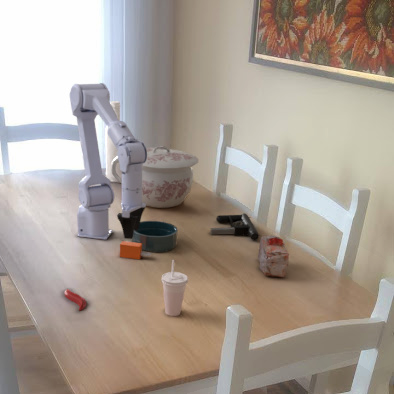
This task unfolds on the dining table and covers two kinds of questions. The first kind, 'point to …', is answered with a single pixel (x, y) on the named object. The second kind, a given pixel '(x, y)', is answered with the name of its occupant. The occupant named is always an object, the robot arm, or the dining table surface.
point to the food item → (273, 256)
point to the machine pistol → (236, 226)
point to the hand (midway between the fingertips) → (131, 233)
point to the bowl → (156, 236)
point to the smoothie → (174, 291)
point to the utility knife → (132, 250)
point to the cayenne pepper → (75, 299)
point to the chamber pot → (164, 176)
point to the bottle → (112, 148)
